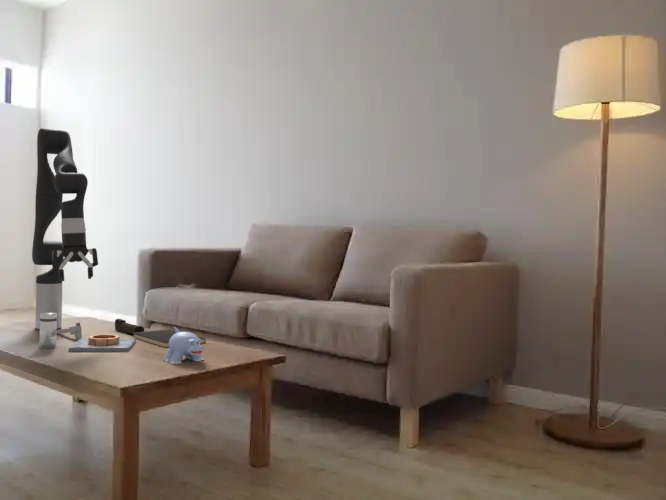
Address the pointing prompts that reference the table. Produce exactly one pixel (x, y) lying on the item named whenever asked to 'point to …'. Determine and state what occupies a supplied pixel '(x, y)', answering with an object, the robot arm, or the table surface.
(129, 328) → the hand tool
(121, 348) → the grey square base plate
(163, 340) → the hardcover book
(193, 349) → the hippopotamus toy
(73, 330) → the caliper
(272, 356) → the table surface
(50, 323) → the steel piston
